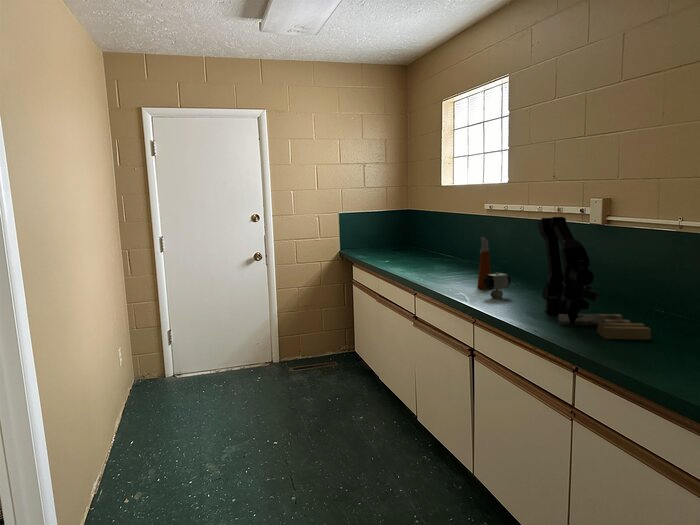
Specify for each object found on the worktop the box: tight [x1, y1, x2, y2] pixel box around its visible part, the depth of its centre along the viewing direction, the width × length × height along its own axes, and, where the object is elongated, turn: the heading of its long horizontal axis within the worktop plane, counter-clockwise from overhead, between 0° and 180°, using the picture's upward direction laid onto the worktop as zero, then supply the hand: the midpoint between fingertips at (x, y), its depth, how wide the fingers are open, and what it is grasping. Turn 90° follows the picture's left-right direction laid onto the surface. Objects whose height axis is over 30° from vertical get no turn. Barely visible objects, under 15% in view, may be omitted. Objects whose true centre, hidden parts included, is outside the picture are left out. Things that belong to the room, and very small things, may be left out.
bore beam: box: [599, 313, 632, 323], centre depth 172 cm, size 8×10×3 cm
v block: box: [596, 322, 652, 340], centre depth 160 cm, size 14×7×4 cm, turn 81°
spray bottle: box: [476, 236, 492, 290], centre depth 238 cm, size 7×11×26 cm, turn 146°
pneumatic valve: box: [484, 271, 512, 300], centre depth 218 cm, size 6×12×12 cm, turn 111°
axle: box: [557, 313, 602, 327], centre depth 173 cm, size 14×4×4 cm, turn 82°
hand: (570, 322), depth 174 cm, fingers closed on axle, 4 cm apart
